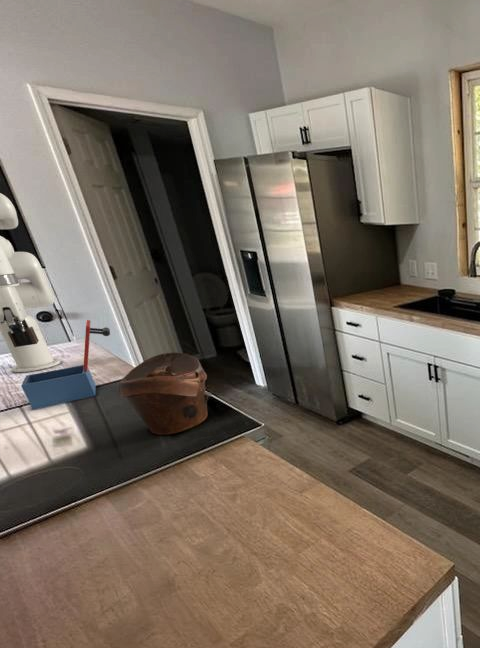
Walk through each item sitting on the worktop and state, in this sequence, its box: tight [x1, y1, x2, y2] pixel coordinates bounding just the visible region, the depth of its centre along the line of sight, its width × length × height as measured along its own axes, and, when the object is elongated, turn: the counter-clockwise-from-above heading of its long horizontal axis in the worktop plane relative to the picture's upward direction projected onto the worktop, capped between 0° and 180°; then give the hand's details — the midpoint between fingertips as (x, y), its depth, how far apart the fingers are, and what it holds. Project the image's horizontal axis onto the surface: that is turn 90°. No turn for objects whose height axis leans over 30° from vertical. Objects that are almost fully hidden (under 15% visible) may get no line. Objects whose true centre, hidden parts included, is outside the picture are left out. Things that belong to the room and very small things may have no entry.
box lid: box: [83, 319, 111, 372], centre depth 132 cm, size 14×12×5 cm
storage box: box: [20, 364, 97, 410], centre depth 129 cm, size 14×12×8 cm
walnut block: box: [8, 327, 39, 347], centre depth 121 cm, size 4×4×4 cm
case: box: [118, 352, 213, 436], centre depth 108 cm, size 18×20×18 cm
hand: (26, 342), depth 122 cm, fingers closed on walnut block, 4 cm apart
